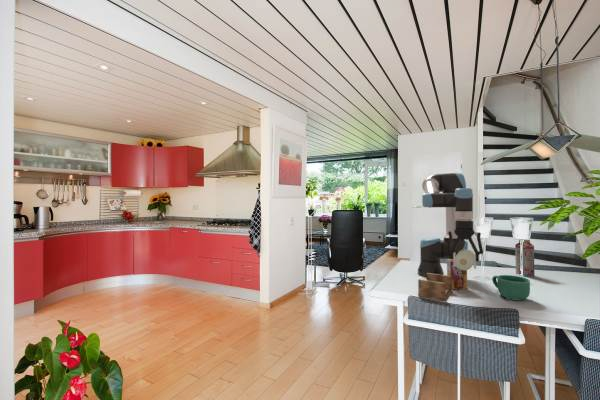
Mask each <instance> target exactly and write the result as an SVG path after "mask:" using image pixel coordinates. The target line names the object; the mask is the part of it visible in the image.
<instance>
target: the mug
mask: <svg viewBox="0 0 600 400" xmlns="http://www.w3.org/2000/svg"><path fill="white" fill-rule="evenodd" d="M491 281H492V283H493V285H494V287H495V288H496V289H497V291H498V293H499V294H500V295H501V296H502V297H504V298H506V299H508V300H512V301H523V300H526V299H527V298H528V297H530V294H531V281H530V279H529V278H526V277H524V276H520V275H519V276H518V275H509V274H508V275H506V274H503V275H502V274H500V275H493V276H492V280H491Z"/></svg>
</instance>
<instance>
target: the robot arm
mask: <svg viewBox="0 0 600 400" xmlns="http://www.w3.org/2000/svg"><path fill="white" fill-rule="evenodd" d="M421 185H422V186H421V187H422V190H423V191H424V193H423V194H422V197H421V198H422V199H421V204H422V207H423V208H445V233H446V234H445V235H444V236H443V239H442V240H441V238H440V237H427V238H422V239H420V243H419V244H420V245H419V248H420V251H419V252H420V258H419V259H420V262H419V265H418V269H417V275H419V276H421V277H426V278H427V273H431V274H439V275H445V274H444V270H443V267H442V264H441V260H449V259H453V266H454V267H455V264H454V257H455V256H456V255H457V254H458V253H459V252H460V251H461V250H464V249H467V250H469V246H468V245H469V244H470V246H471V248H472V250H473V253H474V264H473V269H475V270H476V269H477V263H478V262H479V260H480V255H482V254H484V248H483V245H482V243H483V242H482V239H481V235H482V233H481V232H476V231H475V230H474V221H473V220H474V206H473V205H474V204H473V201H474V198H473V197H474V192H473V189H472V188H471V187H468V188H467V182H466V178H465V176H464V174H463V173H462V172H459V173H457V172H452V173H451V172H450V173H436V174H435V173H434V174H432V175H429V176H428V177H426V178H425V179H424V180H423V181H422V183H421ZM473 235H475V237H476V241H477V246H478V248H477V246H476V244H475V242H474V240H473V238H472V237H473ZM467 240H468V241H467ZM468 242H469V243H468Z"/></svg>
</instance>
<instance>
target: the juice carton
mask: <svg viewBox="0 0 600 400" xmlns="http://www.w3.org/2000/svg"><path fill="white" fill-rule="evenodd" d="M520 240H521V239H519V240H518V243H516V244H515V245H514V246H515V275H518V274H519V276H521V275H520V274H521V271H520ZM523 240H524V242H523V276H522V277H535V245H533V244H532V242H531V240H530V239H523Z"/></svg>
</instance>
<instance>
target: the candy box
mask: <svg viewBox="0 0 600 400" xmlns="http://www.w3.org/2000/svg"><path fill="white" fill-rule="evenodd" d="M446 272H447V273H446V275H447V276H452V290H467V289H468V270H460V269H458V268H457V267H456V266H455V267H454V266H453V259H446Z"/></svg>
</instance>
